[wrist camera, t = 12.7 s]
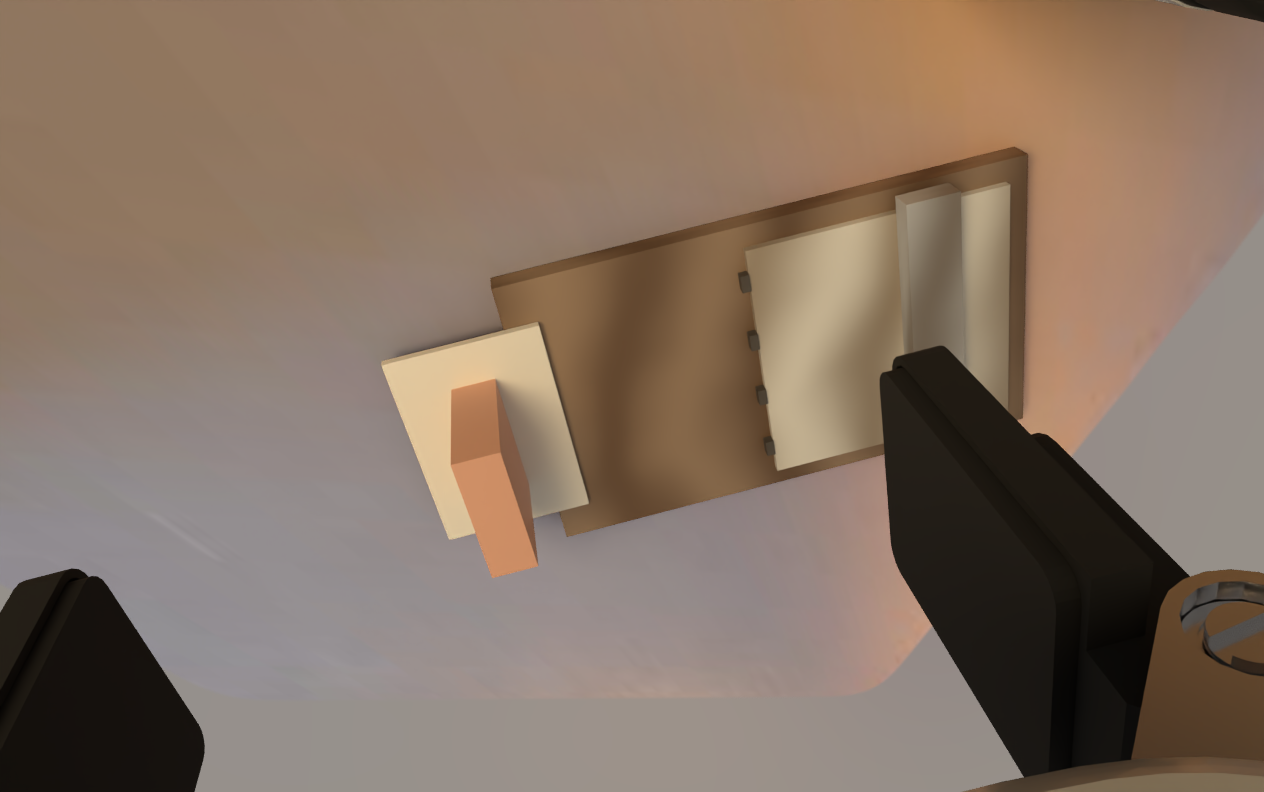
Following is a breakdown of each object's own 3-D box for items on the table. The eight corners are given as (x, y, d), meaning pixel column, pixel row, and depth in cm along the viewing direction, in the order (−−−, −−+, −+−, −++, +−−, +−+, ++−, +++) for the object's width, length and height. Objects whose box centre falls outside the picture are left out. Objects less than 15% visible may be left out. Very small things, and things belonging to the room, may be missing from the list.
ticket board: (1014, 146, 43) (1047, 165, 40) (1011, 406, 50) (1039, 434, 48) (490, 278, 42) (492, 304, 40) (564, 522, 49) (570, 557, 47)
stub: (538, 321, 42) (550, 394, 36) (588, 499, 47) (605, 585, 42) (381, 361, 42) (370, 439, 36) (449, 534, 47) (448, 626, 41)
